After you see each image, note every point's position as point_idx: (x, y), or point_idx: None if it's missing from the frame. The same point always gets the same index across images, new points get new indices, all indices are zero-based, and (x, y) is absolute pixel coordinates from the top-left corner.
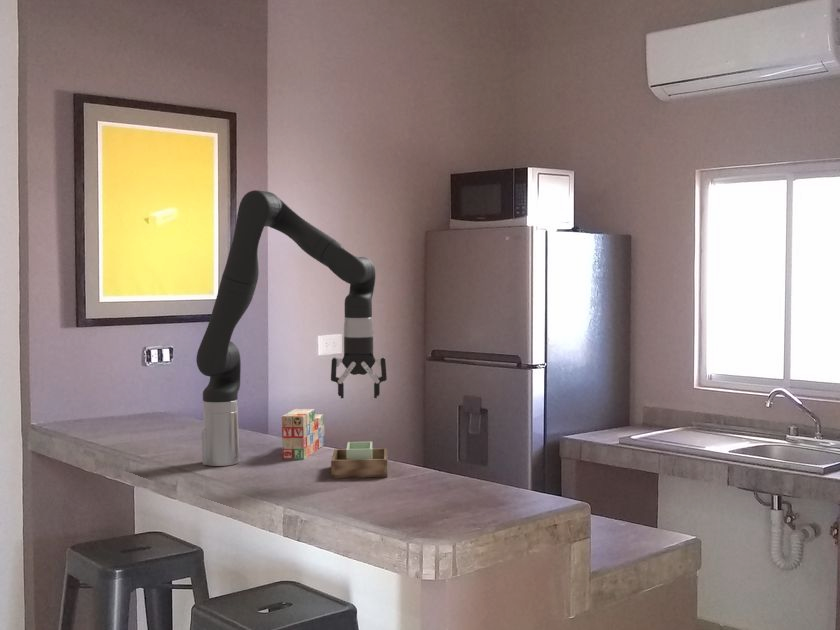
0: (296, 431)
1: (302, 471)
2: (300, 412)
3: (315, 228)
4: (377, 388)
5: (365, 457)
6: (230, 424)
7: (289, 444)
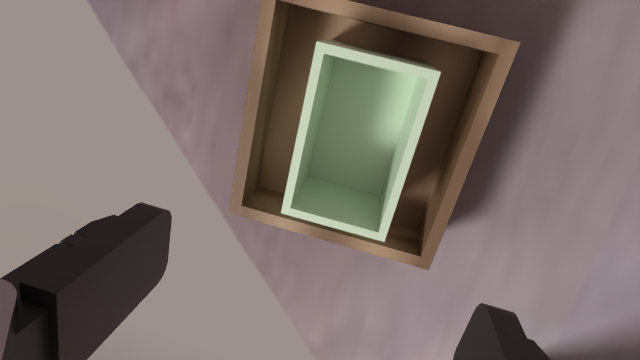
0: None
1: (560, 201)
2: None
3: None
4: (64, 258)
5: (350, 47)
6: None
7: None
